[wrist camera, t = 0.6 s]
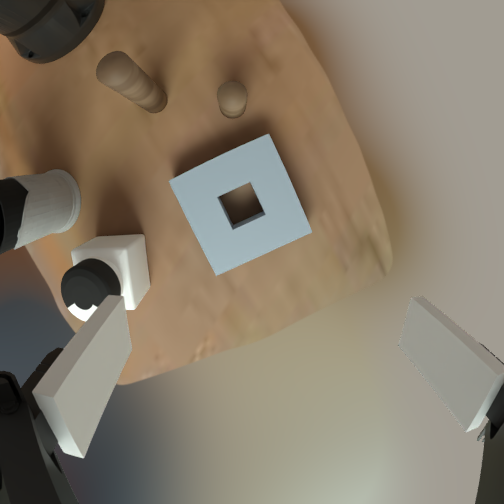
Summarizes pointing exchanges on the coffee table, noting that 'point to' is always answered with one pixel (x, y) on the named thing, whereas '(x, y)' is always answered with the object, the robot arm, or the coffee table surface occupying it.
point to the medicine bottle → (106, 273)
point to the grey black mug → (36, 207)
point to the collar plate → (251, 229)
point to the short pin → (232, 99)
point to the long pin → (130, 81)
